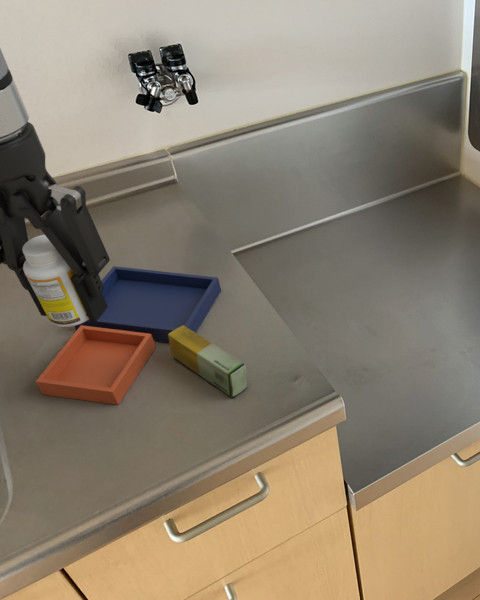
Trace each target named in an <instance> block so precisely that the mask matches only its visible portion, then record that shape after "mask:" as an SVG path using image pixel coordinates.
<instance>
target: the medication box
mask: <svg viewBox="0 0 480 600" xmlns="http://www.w3.org/2000/svg"><path fill="white" fill-rule="evenodd" d="M168 337H169V342H168V343H169V347H170V353H171V357H173V358H174V359H176V360H177V361H178V362H180V363H181V364H183V365H184V366H186V367H187V368H189V369H190V370H191V371H193V372H195V373H196V374H198V375H199V376H200V377H202V378H203V379H205V380H206V381H207V382H209V383H211V384H212V385H213V386H214V387H216V388H218V389H219V390H220V391H222V392H223V393H225V394H227V395H228V396H230V397H231V398H235V397H237V396H238V395H240V394H241V393H243V392H244V391H245V390H246V389H247V388H248V381H247V369H246V368H247V367H246V366H247V365H246V364H245V363H244V362H242V361H241V360H240V359H238V358H236V357H234V356H233V355H231V354H230V353H229V352H226V351H225V350H223V349H222V348H221V347H219V346H217V345H215V344H214V343H212V342H211V341H209V340H207V339H206V338H204V337H203V336H201V335H200V334H198V333H197V332H196V333H195V332H193V331H192V330H190V329H189V328H187V327H186V326H181V327H179V328H177V329H175V330H174V331H172V332H171V333H169V334H168Z"/></svg>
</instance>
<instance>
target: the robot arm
mask: <svg viewBox="0 0 480 600" xmlns="http://www.w3.org/2000/svg"><path fill="white" fill-rule="evenodd" d="M29 118H30V116H29V113H28V111H27V108H26V106H25V103H24V101H23V99H22V96H21V94H20V92H19V90H18V87H17V84H16V82H15V80H14V78H13V75H12V72H11V70H10V69H9V66H8V63H7V61H6V58H5V56H4V53H3V51H2V49H1V48H0V265H2V264H3V265H6V266H7V268H8V269H9V270H11V271H13V272H14V273H15V275H16V277H17V279H18V281H19V282H20V284H21V287H22V288H23V289H24V290H26V291H28V294H29V295H30V297H31V299H32V301H33V302H34V304H35V306H36V308H37V310H38V312H39V314H40V316H42V317H47V315H46V313H45V311H44V309H43V307H42V305H41V303H40V301H39V299H38V298H37V296H36V294H35V292H34V290H33V288H32V286H31V284H30V283H29V281H28V279H27V277H26V275H25V273H24V270H23V265H24V262H25V261H26V258H25V255H24V253H23V250H22V248H23V246H24V244H25V243H26V242H27V241H29V236H28V230H27V225H26V219H27V220H28V222H29V223H30V224H31V225H32V227H33V228H34V229H36V230H40V231H41V232H42V233H43V235H45V236H46V237H47V238H48V240H49V241H50V242H51V243H52V245H53V246H54V247H55V249H56V250H57V251H58V253H59V254H60V255H61V256H62V258H63V259H64V260H65V262H66V263H67V264H68V266H69V267H70V268H71V269H72V271H73V272H74V273H75V274H74V275H73V276H72V277H71V278H70V279H71V281H72V283H73V285H74V287H75V290H76V292H77V294H78V296H79V298H80V300H81V303H82V305H83V307H84V309H85V311H86V313H87V316H88V318H89V320H90V321H92V322H96V321H97V320H98V319H99V318H100V316H101V315H102V314H103V313H104V311H105V310H106V309H107V307H108V306H107V304H106V301H105V299H104V297H103V294H102V291H103V290H104V286H103V284H102V279H101V277H100V273H101V272H102V271H103V270H104V268H105V267H106V266H107V265H108V263H109V262H110V260H111V258H110V256H109V254H108V252H107V250H106V247H105V245H104V243H103V241H102V238H101V235H100V233H99V232H98V229H97V227H96V225H95V223H94V220H93V218H92V216H91V213H90V211H89V209H88V207H87V199H86V191H85V189H84V188H83V187H82V186H80V185H75V186H73V187H72V188H71V189H70V188H68V187H65V186H62V185H59V184H57V181H56V179H55V178H54V177H53V176H52V175H51V174H50V173H49V172H48V170H47V167H46V152H45V150H44V147H43V145H42V142H41V140H40V137H39V135H38V133H37V130H36V128H35V126H34V124H32V123H31V122H29Z"/></svg>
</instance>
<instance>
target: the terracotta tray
mask: <svg viewBox="0 0 480 600" xmlns="http://www.w3.org/2000/svg"><path fill="white" fill-rule="evenodd" d="M156 347H157V345H156V343H155V341H154V340H153V337H152V335H151V334H148V333H140V332H132V331H123V330H115V329H107V328H99V327H91V326H83V325H81V326H80V327H79V328H78V329H77V331H76V330H75V332H74V333H73V334H72V336H71V337H70V338H69V339H68V340H67V341H66V343H65V344H64V345H63V347H62V348H60V351H58V353H57V354H56V355H55V357H54V358H53V359H52V360H51V361H50V362H49V364H48V365H47V366H46V368H45V369H44V370H43V372H41V374H40V375H39V376H38V378H37V379H36V380H35V383H36V385H37V386H38V388H39V390H40V392H41V393H42V395H44V396H51V397H59V398H65V399H66V398H67V399H73V400H81V401H87V402H95V403H100V404H101V403H103V404H109V405H117V406H118V405H120V403H121V401H122V400H123V399H124V397H125V395H126V394H127V393H128V391H129V390H130V388H131V386H132V385H133V383H134V382H135V380H136V379H137V377H138V376H139V374H140V373H141V371H142V370H143V368H144V366H145V365H146V363H147V361H149V358H150V357H151V355H153V352H154V351H155V349H156Z"/></svg>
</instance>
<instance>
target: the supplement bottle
mask: <svg viewBox="0 0 480 600" xmlns="http://www.w3.org/2000/svg"><path fill="white" fill-rule="evenodd" d="M22 250H23V253H24V255H25V258H26V261H25V262H24V265H23V270H24V273H25V275H26V277H27V279H28V281H29V283H30V284H31V286H32V288H33V290H34V292H35V294H36V296H37V298H38V299H39V301H40V303H41V305H42V307H43V309H44V311H45V313H46V315H47V316H46V317H47V319H48V320H49V321H50V323H52V324H53V325H55V326H57V327H62V328H69V327H74V326H75V325H79V324H81V323H83V322H85V321H87V320H89V318H88V316H87V313H86V311H85V309H84V307H83V305H82V303H81V300H80V298H79V296H78V294H77V292H76V290H75V287H74V285H73V283H72V281H71V279H70V278H71V277H72V276H73V275H74V274H75V273H74V272H73V271H72V269H71V268H70V267H69V266H68V264H67V263H66V262H65V260H64V259H63V258H62V256H61V255H60V254H59V253H58V251H57V250H56V249H55V247H54V246H53V245H52V243H51V242H50V241H49V240H48V238H47V237H46V236H45V234H41V235H37V236H34V237H33V238H31V239H28V241H27V242H26V243H25V244H24V246H23V248H22Z"/></svg>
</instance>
